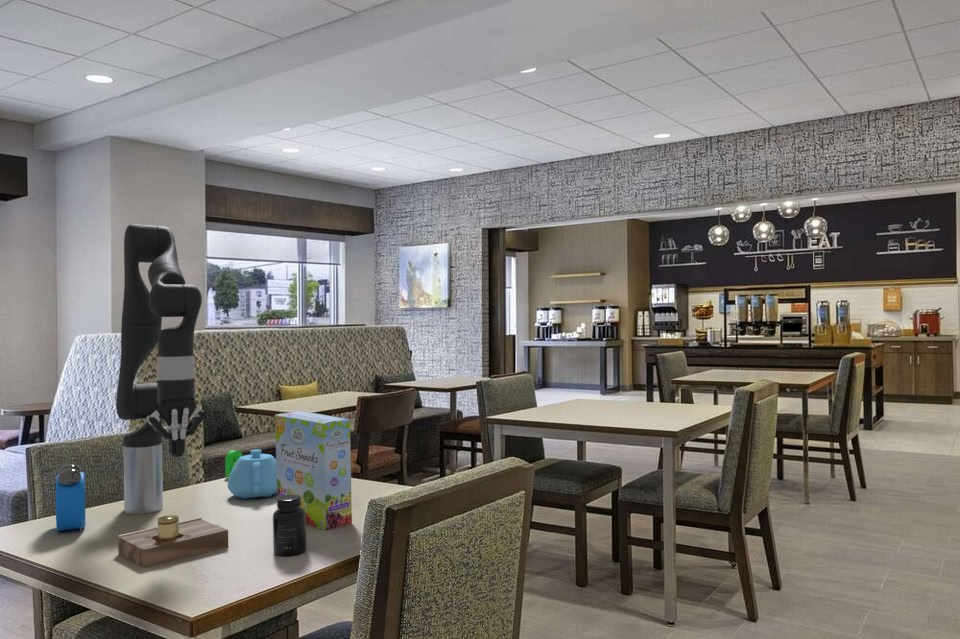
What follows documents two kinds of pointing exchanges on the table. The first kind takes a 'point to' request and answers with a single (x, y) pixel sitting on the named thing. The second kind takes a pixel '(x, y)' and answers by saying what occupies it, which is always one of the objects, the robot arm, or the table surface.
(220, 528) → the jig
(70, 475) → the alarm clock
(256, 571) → the table surface
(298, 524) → the supplement bottle
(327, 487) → the snack box
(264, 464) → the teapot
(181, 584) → the table surface
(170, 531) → the brass cylinder plug
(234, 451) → the mechanical part
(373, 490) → the table surface
